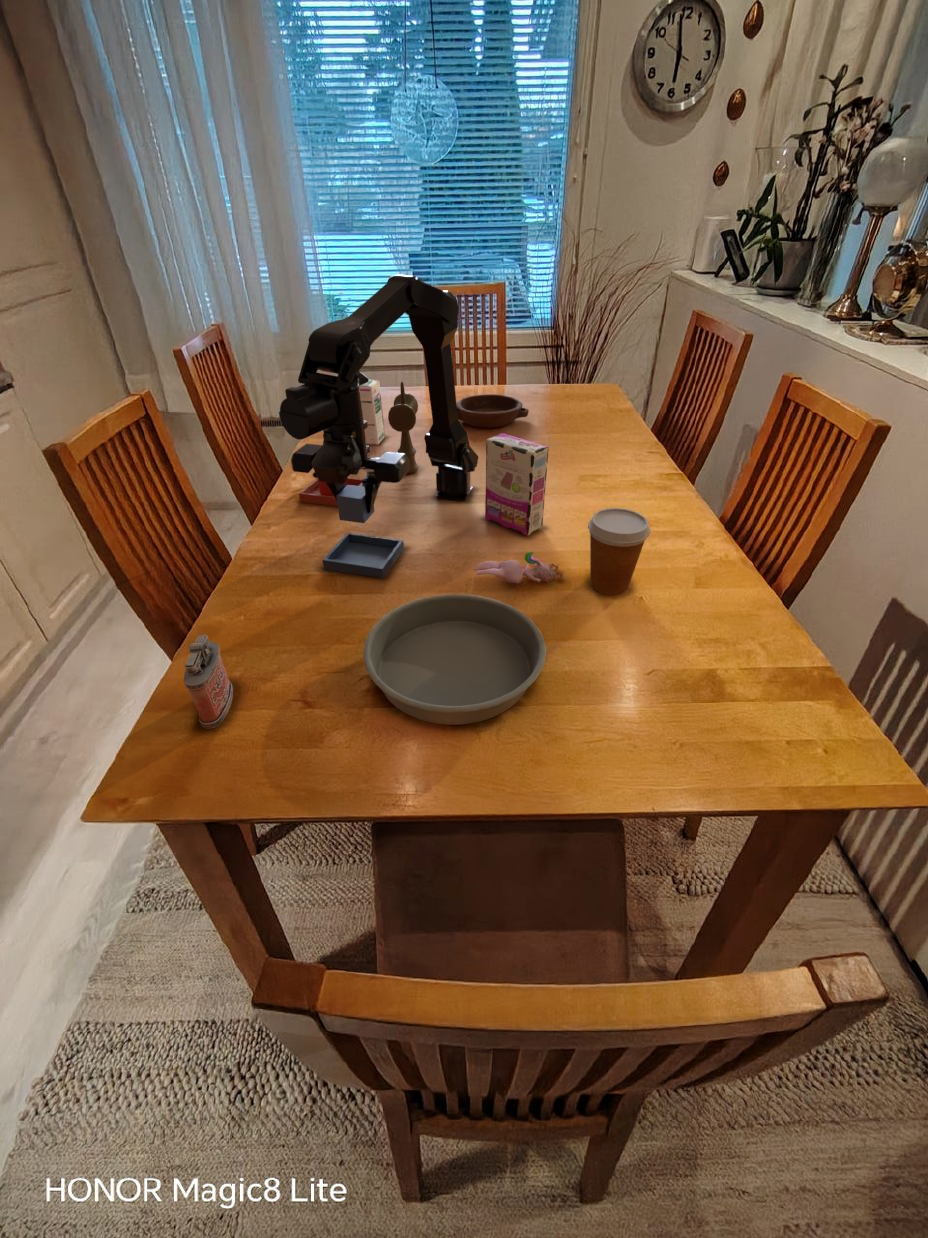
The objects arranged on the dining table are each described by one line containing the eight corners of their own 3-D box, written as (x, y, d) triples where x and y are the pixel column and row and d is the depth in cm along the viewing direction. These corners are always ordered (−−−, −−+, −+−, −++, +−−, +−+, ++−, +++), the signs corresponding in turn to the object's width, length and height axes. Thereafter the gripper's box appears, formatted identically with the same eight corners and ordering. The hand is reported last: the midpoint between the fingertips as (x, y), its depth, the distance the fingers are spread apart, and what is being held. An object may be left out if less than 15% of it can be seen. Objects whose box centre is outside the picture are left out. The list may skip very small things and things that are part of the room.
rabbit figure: (551, 573, 104) (469, 570, 100) (560, 544, 100) (475, 539, 97) (562, 593, 99) (476, 590, 95) (571, 563, 96) (482, 559, 92)
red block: (348, 489, 128) (346, 470, 125) (339, 498, 125) (336, 478, 122) (329, 487, 129) (326, 468, 126) (320, 496, 126) (317, 476, 123)
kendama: (393, 479, 133) (385, 388, 121) (397, 462, 141) (390, 375, 129) (419, 479, 133) (414, 387, 121) (422, 462, 141) (417, 375, 129)
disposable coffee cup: (604, 607, 94) (615, 541, 86) (569, 578, 100) (576, 514, 93) (650, 591, 97) (665, 526, 90) (613, 564, 104) (624, 501, 96)
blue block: (374, 511, 102) (371, 487, 100) (364, 523, 99) (361, 498, 96) (350, 508, 103) (347, 484, 101) (339, 520, 100) (336, 495, 97)
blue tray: (404, 549, 108) (403, 539, 107) (383, 578, 101) (382, 568, 100) (348, 541, 111) (347, 532, 110) (323, 569, 103) (322, 559, 102)
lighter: (212, 685, 80) (190, 627, 74) (237, 683, 80) (218, 625, 74) (195, 729, 74) (170, 670, 68) (223, 727, 74) (201, 668, 68)
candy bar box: (543, 528, 114) (550, 445, 105) (527, 537, 112) (533, 453, 102) (499, 510, 121) (502, 431, 111) (483, 518, 118) (484, 438, 108)
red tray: (368, 487, 130) (367, 479, 129) (348, 507, 122) (347, 499, 121) (322, 482, 132) (320, 474, 131) (300, 501, 125) (298, 493, 123)
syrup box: (378, 445, 150) (372, 386, 141) (356, 443, 151) (349, 385, 142) (385, 437, 154) (380, 379, 146) (364, 435, 155) (357, 378, 147)
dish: (532, 431, 157) (533, 412, 154) (449, 432, 157) (449, 414, 154) (524, 410, 171) (525, 392, 168) (448, 411, 171) (448, 393, 167)
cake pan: (573, 711, 76) (577, 686, 73) (384, 755, 70) (380, 729, 67) (508, 604, 94) (509, 580, 92) (354, 632, 89) (351, 608, 86)
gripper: (263, 431, 87) (284, 525, 96) (380, 443, 83) (390, 540, 92) (300, 407, 95) (315, 496, 105) (408, 417, 91) (414, 508, 101)
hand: (356, 510), depth 100 cm, fingers closed on blue block, 4 cm apart
